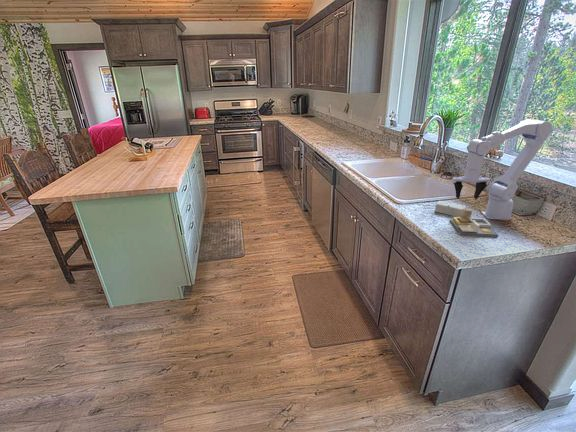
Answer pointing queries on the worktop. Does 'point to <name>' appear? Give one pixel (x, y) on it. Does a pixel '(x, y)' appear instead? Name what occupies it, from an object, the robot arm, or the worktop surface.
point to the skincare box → (449, 208)
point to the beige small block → (465, 216)
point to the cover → (470, 227)
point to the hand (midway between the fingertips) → (466, 197)
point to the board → (483, 228)
